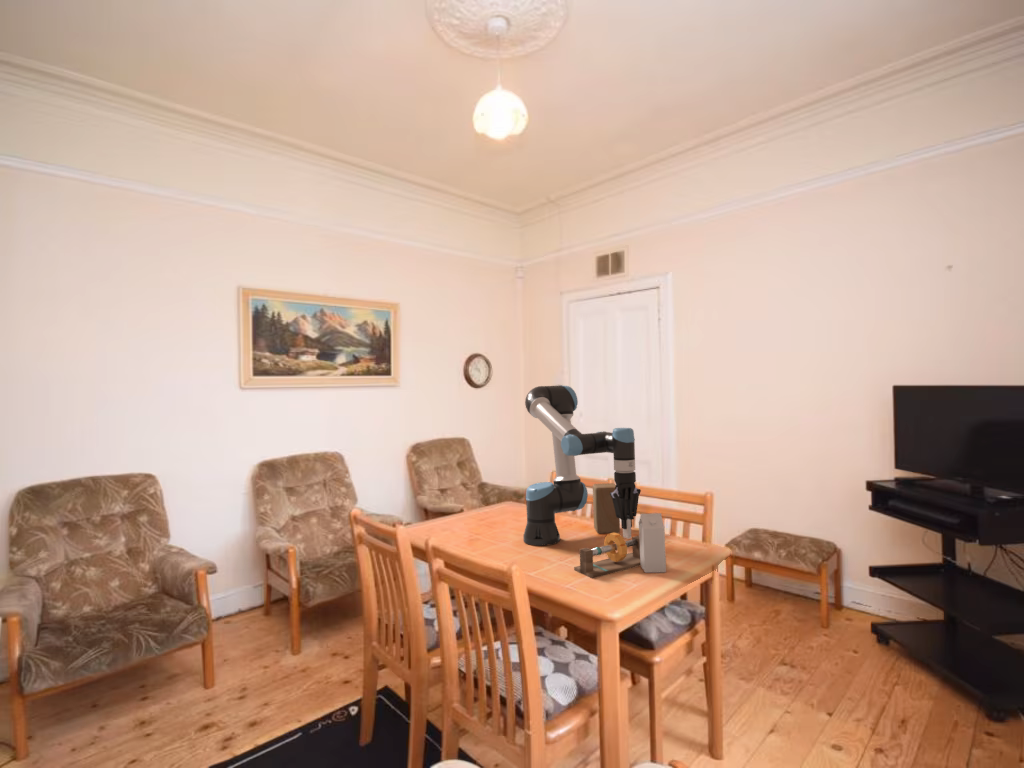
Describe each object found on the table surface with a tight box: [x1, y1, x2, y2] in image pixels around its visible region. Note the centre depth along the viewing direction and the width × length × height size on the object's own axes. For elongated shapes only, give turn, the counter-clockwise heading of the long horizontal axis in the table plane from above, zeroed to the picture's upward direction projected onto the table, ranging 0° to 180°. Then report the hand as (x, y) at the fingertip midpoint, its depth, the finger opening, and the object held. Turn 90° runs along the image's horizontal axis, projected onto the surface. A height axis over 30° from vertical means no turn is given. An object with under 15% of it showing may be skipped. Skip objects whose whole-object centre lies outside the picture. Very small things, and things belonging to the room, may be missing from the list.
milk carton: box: [638, 512, 667, 574], centre depth 175 cm, size 7×7×19 cm
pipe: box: [590, 539, 638, 557], centre depth 180 cm, size 3×24×3 cm, turn 121°
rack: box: [573, 535, 641, 579], centre depth 180 cm, size 10×27×8 cm, turn 120°
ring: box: [603, 532, 628, 562], centre depth 180 cm, size 9×2×9 cm, turn 30°
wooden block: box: [592, 482, 621, 535], centre depth 225 cm, size 10×10×20 cm
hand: (627, 537), depth 183 cm, fingers closed
